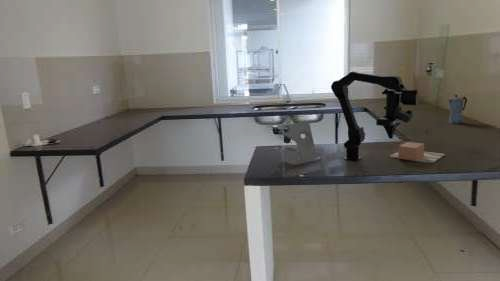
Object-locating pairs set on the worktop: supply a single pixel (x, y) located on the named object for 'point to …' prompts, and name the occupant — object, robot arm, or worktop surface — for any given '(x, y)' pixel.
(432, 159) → the birch board
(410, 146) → the terracotta block
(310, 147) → the phone holder
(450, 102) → the moka pot
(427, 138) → the worktop surface
